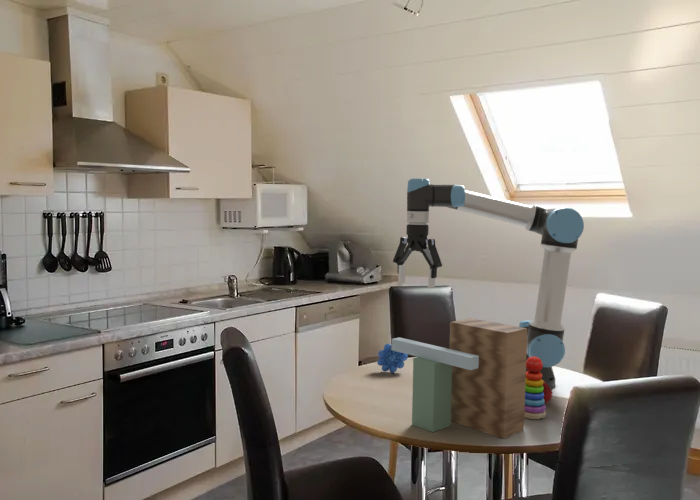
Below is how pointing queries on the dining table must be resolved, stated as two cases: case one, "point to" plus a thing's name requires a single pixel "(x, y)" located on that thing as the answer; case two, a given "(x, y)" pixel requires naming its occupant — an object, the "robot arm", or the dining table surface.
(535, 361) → the stacking toy
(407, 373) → the dining table surface
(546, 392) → the onion
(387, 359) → the blue bumpy round piece
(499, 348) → the stand
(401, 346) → the rod
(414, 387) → the post
